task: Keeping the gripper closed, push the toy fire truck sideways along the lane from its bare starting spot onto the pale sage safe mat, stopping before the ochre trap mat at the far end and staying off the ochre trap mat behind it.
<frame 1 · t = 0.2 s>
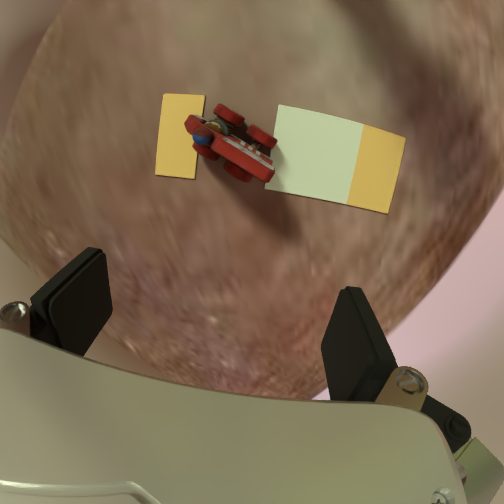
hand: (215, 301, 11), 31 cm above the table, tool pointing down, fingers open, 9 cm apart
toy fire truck: (235, 141, 37), on the table, touching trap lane
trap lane: (282, 148, 37), on the table
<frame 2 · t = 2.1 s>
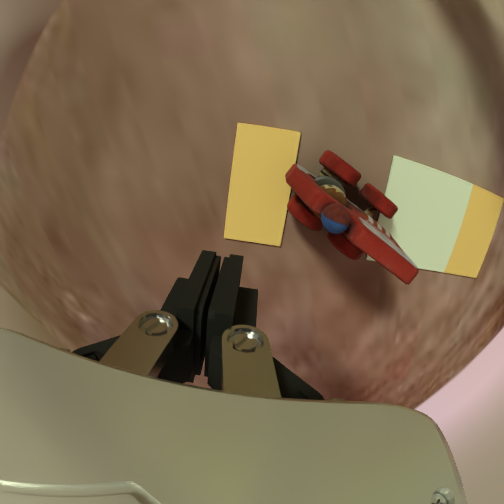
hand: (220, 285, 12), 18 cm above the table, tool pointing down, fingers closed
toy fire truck: (337, 199, 28), on the table, touching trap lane
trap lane: (392, 211, 28), on the table
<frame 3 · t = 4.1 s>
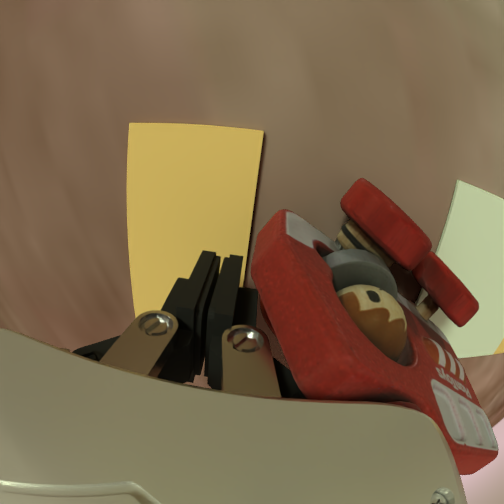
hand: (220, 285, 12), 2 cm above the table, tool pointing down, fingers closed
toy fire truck: (365, 275, 14), on the table, touching gripper
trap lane: (442, 284, 14), on the table
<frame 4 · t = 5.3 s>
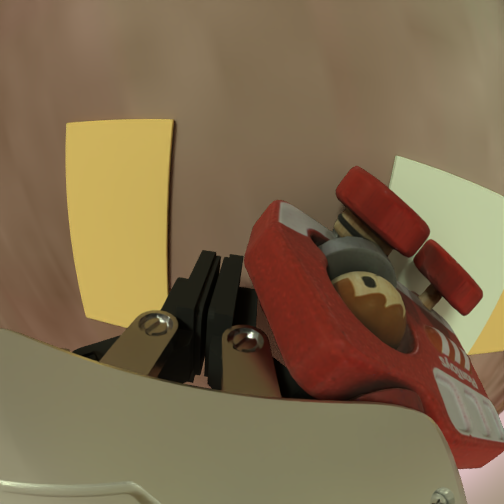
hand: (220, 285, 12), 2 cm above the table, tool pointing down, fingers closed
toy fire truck: (366, 266, 14), on the table, touching gripper
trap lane: (389, 274, 14), on the table
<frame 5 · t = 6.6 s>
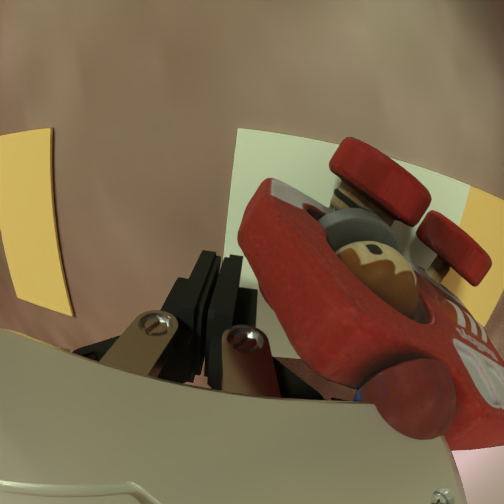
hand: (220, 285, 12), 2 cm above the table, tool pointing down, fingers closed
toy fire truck: (368, 245, 13), resting on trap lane, touching gripper
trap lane: (255, 260, 14), on the table
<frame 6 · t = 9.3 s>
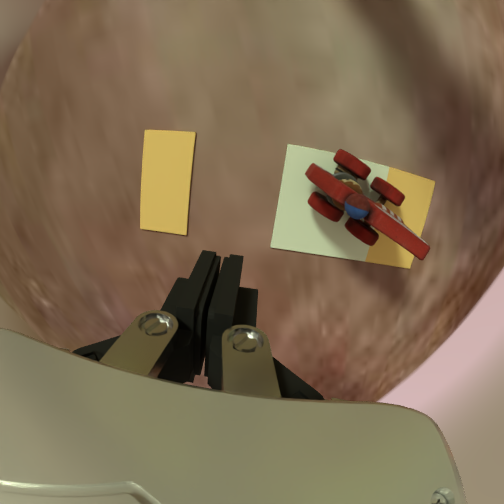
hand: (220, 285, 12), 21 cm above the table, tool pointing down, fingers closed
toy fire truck: (350, 193, 30), resting on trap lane
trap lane: (292, 199, 31), on the table
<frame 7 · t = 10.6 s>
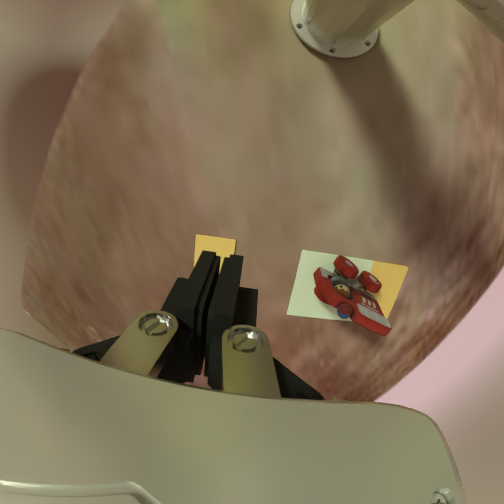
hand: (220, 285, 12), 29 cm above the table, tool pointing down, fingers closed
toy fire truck: (344, 280, 44), resting on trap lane
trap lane: (303, 285, 45), on the table
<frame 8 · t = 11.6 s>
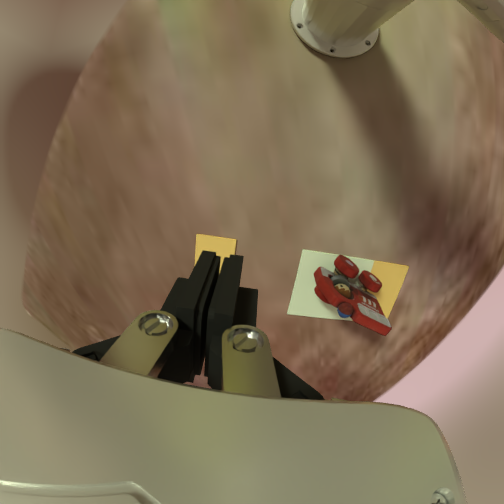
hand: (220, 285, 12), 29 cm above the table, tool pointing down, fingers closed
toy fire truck: (344, 279, 44), resting on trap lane
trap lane: (303, 284, 45), on the table
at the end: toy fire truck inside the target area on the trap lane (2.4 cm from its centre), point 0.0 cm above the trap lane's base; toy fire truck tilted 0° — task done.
